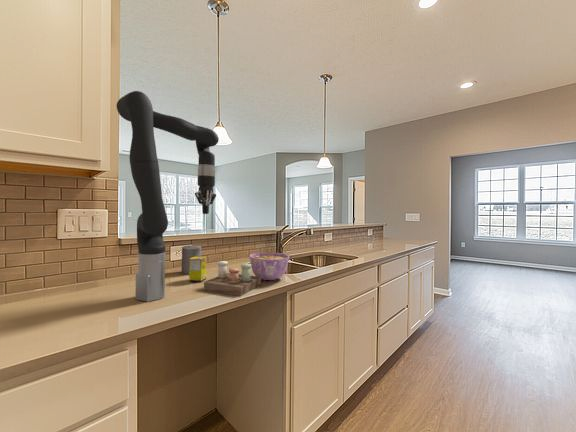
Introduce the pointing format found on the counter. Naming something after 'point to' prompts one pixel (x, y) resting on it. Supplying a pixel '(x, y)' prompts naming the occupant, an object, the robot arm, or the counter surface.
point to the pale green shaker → (246, 272)
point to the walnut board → (232, 285)
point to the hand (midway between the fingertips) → (205, 213)
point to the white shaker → (222, 269)
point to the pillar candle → (189, 256)
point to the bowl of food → (269, 265)
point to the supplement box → (197, 269)
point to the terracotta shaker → (234, 274)
